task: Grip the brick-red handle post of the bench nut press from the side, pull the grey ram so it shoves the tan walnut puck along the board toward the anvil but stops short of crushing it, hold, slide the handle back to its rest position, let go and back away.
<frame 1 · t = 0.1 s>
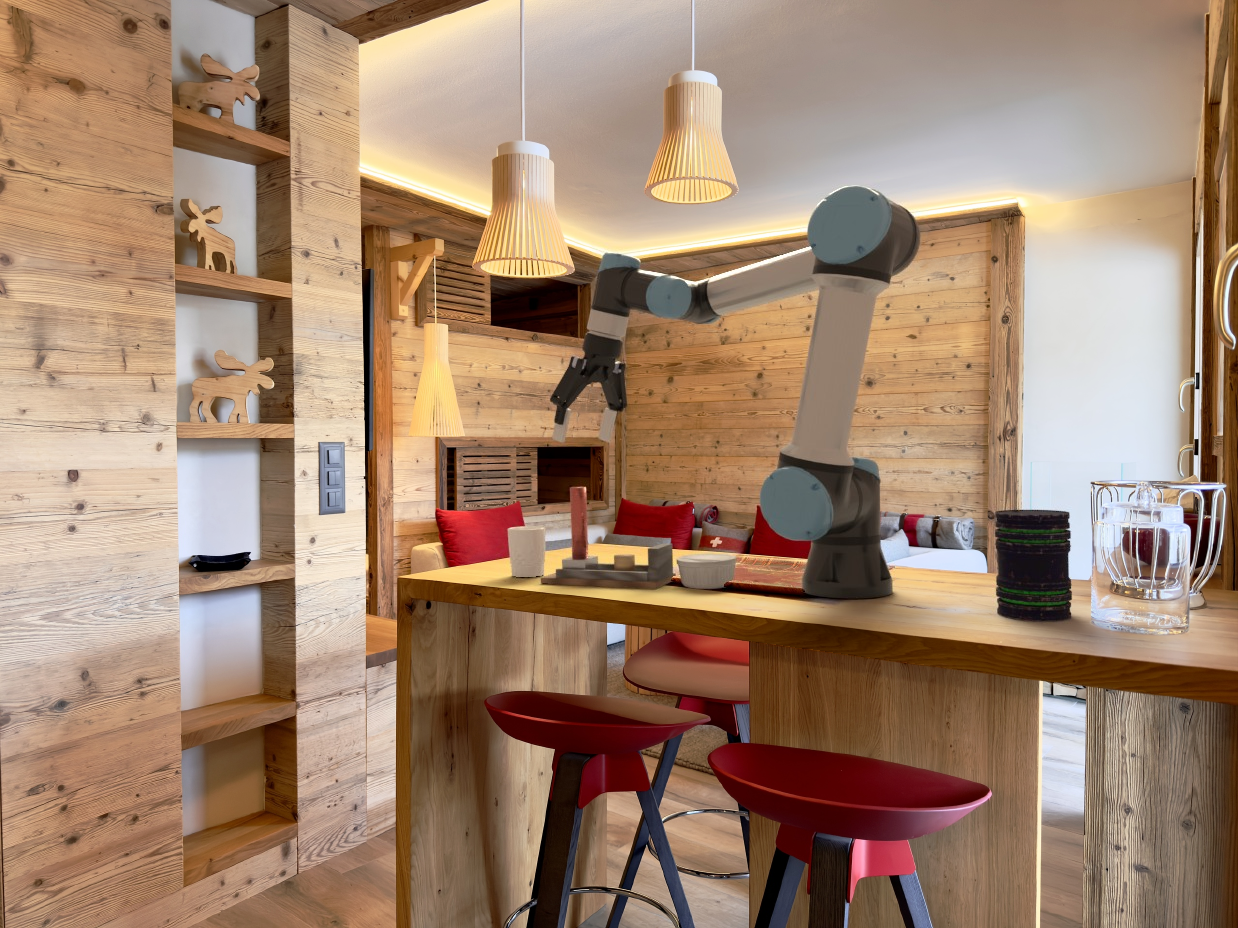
hand: (581, 440, 160), 28 cm above the table, tool tilted 20°, fingers open, 13 cm apart
dark brown cylinder: (1033, 615, 117), on the table
ramekin: (707, 586, 151), on the table
press: (608, 581, 157), on the table
nut: (624, 576, 156), point 1 cm above the table, touching press
ram: (579, 530, 159), point 10 cm above the table, slide at 0.0 cm
white cup: (528, 576, 168), on the table
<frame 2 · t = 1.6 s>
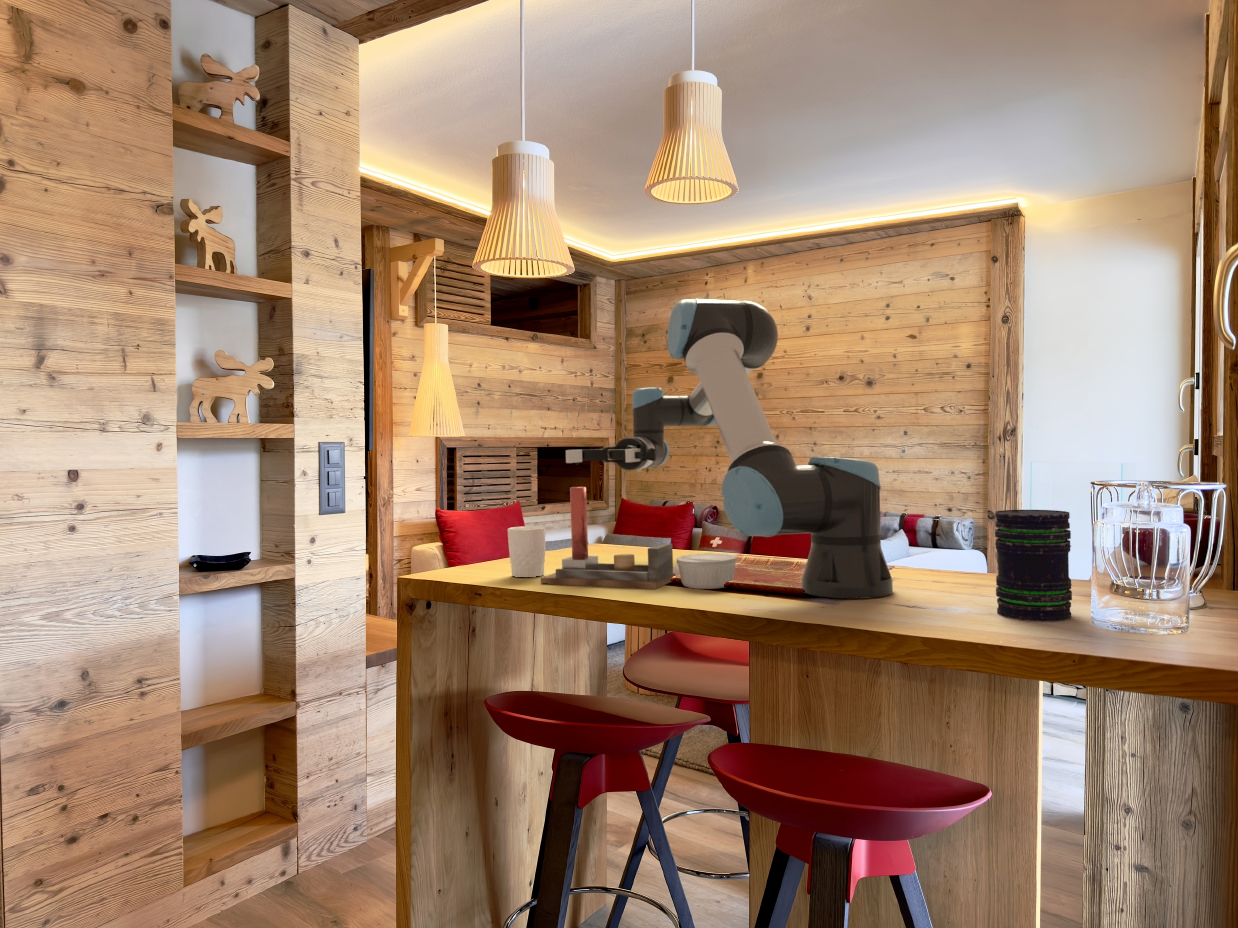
hand: (596, 456, 167), 24 cm above the table, tool horizontal, fingers open, 13 cm apart
nothing on the table moved.
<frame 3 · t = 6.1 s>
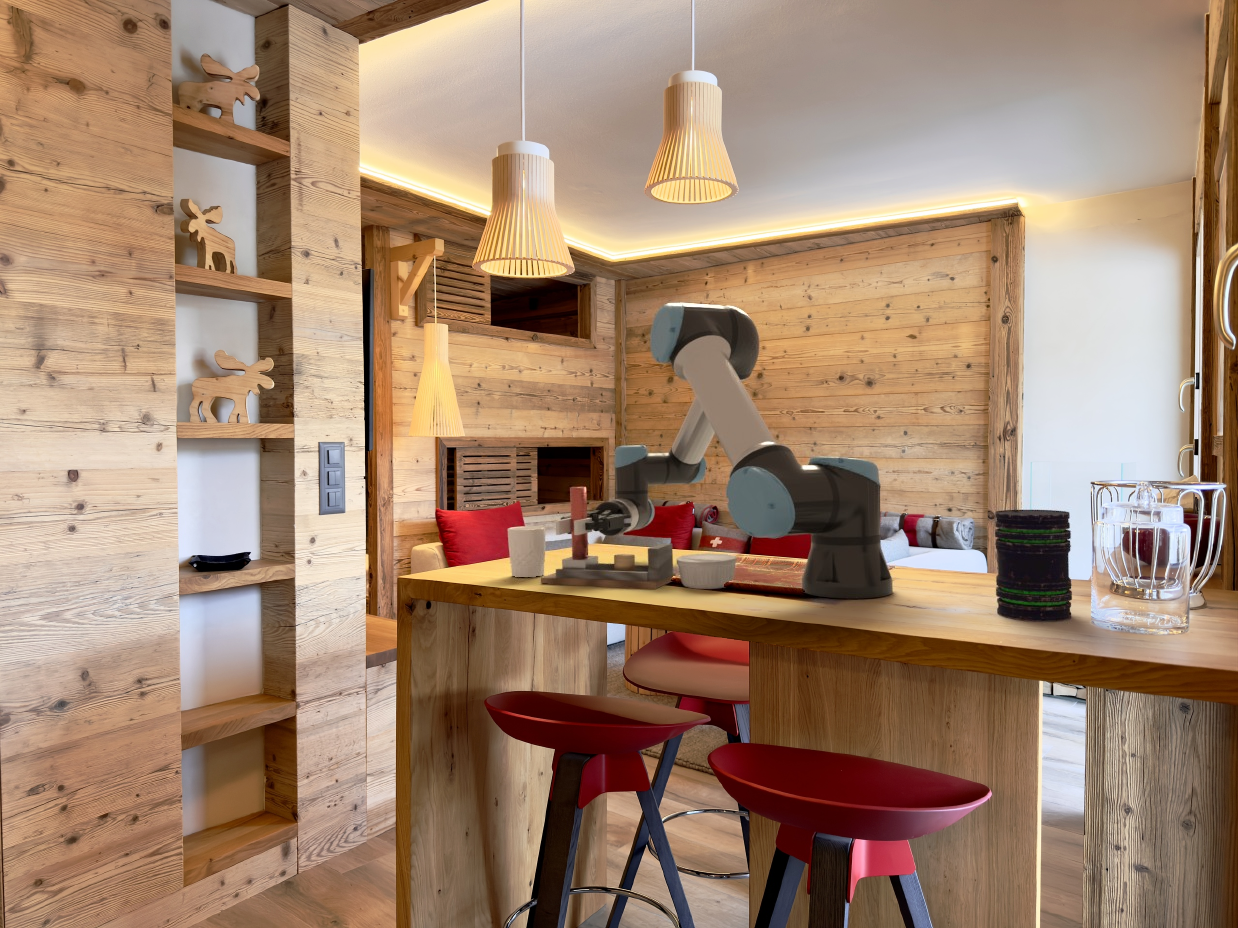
hand: (566, 527, 154), 11 cm above the table, tool horizontal, fingers closed on ram, 3 cm apart
ram: (579, 530, 159), point 10 cm above the table, slide at 0.0 cm, touching gripper
everything else where it was.
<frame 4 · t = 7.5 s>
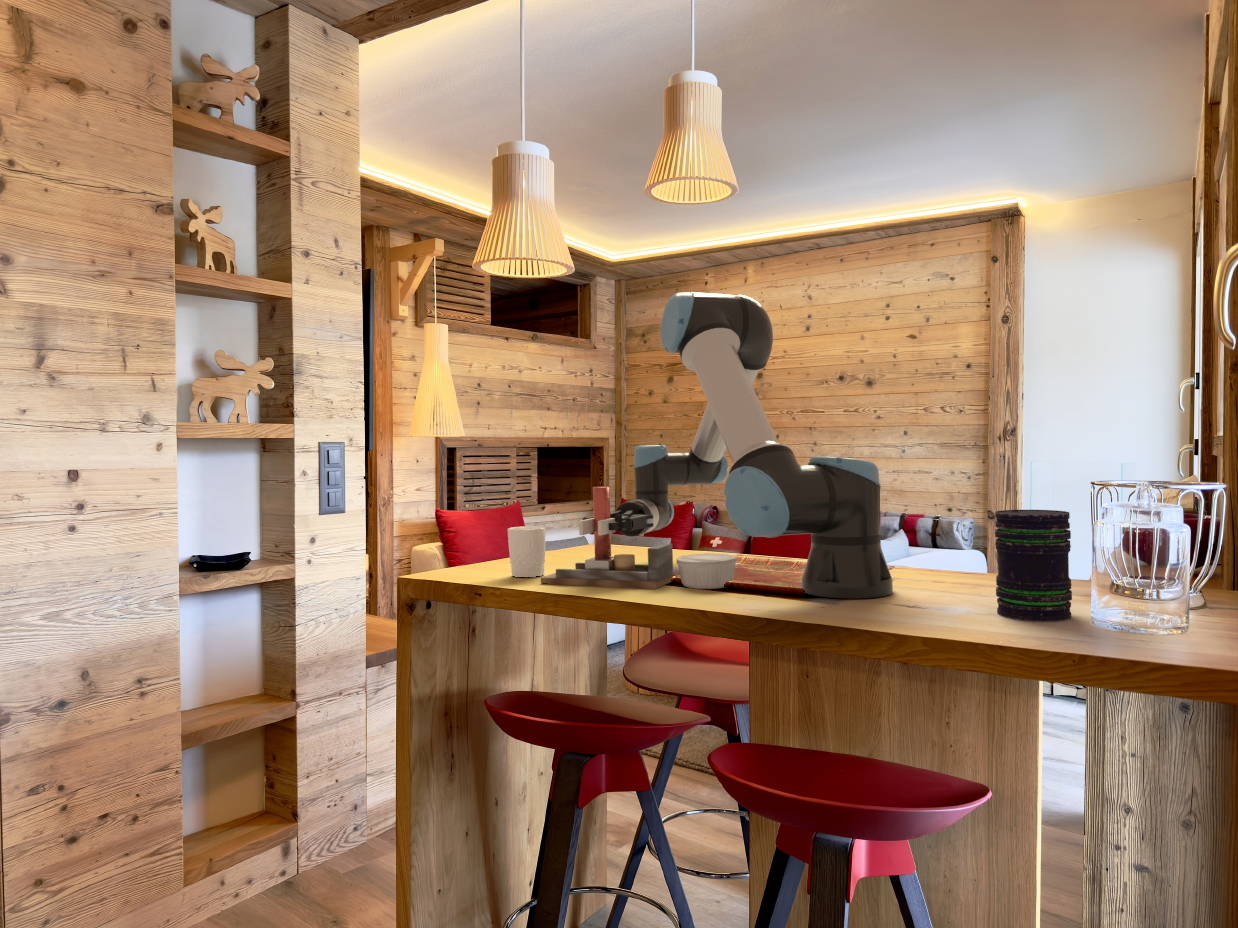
hand: (590, 528, 152), 11 cm above the table, tool horizontal, fingers closed on ram, 3 cm apart
nut: (624, 575, 156), point 1 cm above the table, touching press, ram
ram: (602, 530, 157), point 10 cm above the table, slide at 5.0 cm, touching gripper, nut
everything else where it was.
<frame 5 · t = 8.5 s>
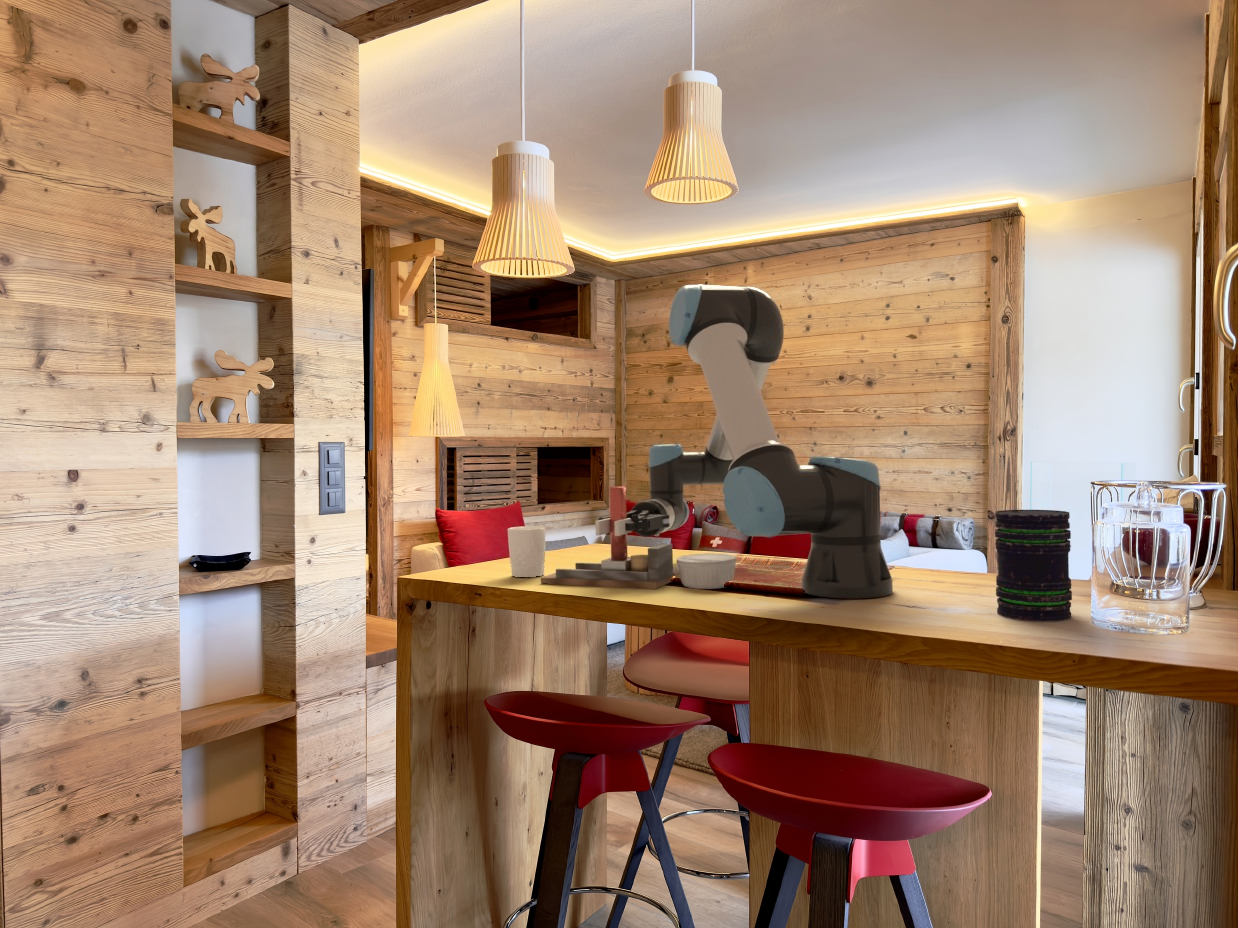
hand: (607, 528, 151), 11 cm above the table, tool horizontal, fingers closed on ram, 3 cm apart
nut: (641, 576, 154), point 1 cm above the table, touching press
ram: (618, 530, 156), point 10 cm above the table, slide at 8.5 cm, touching gripper
everything else where it was.
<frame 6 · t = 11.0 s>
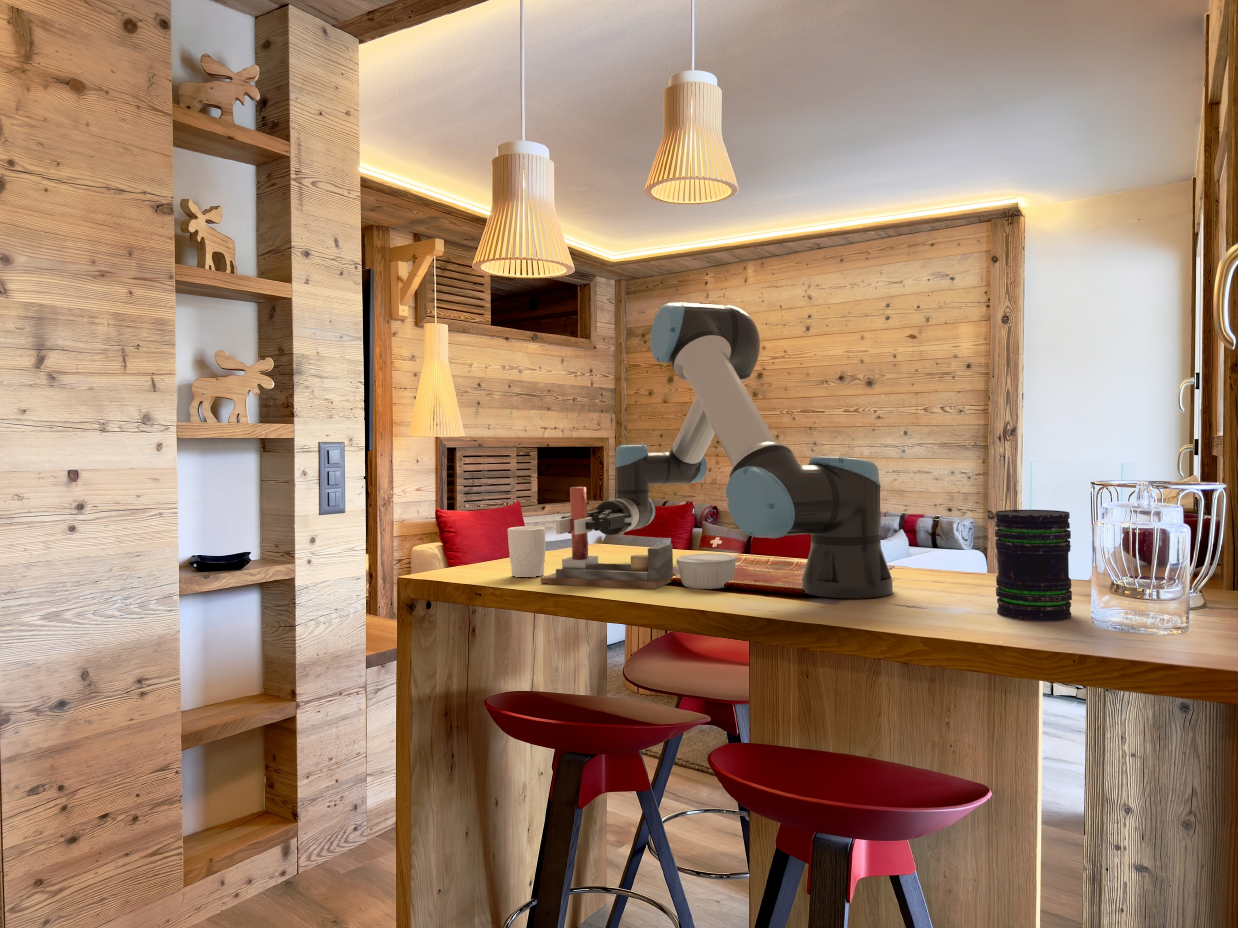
hand: (567, 527, 155), 11 cm above the table, tool horizontal, fingers closed on ram, 3 cm apart
ram: (579, 530, 159), point 10 cm above the table, slide at 0.0 cm, touching gripper
everything else where it was.
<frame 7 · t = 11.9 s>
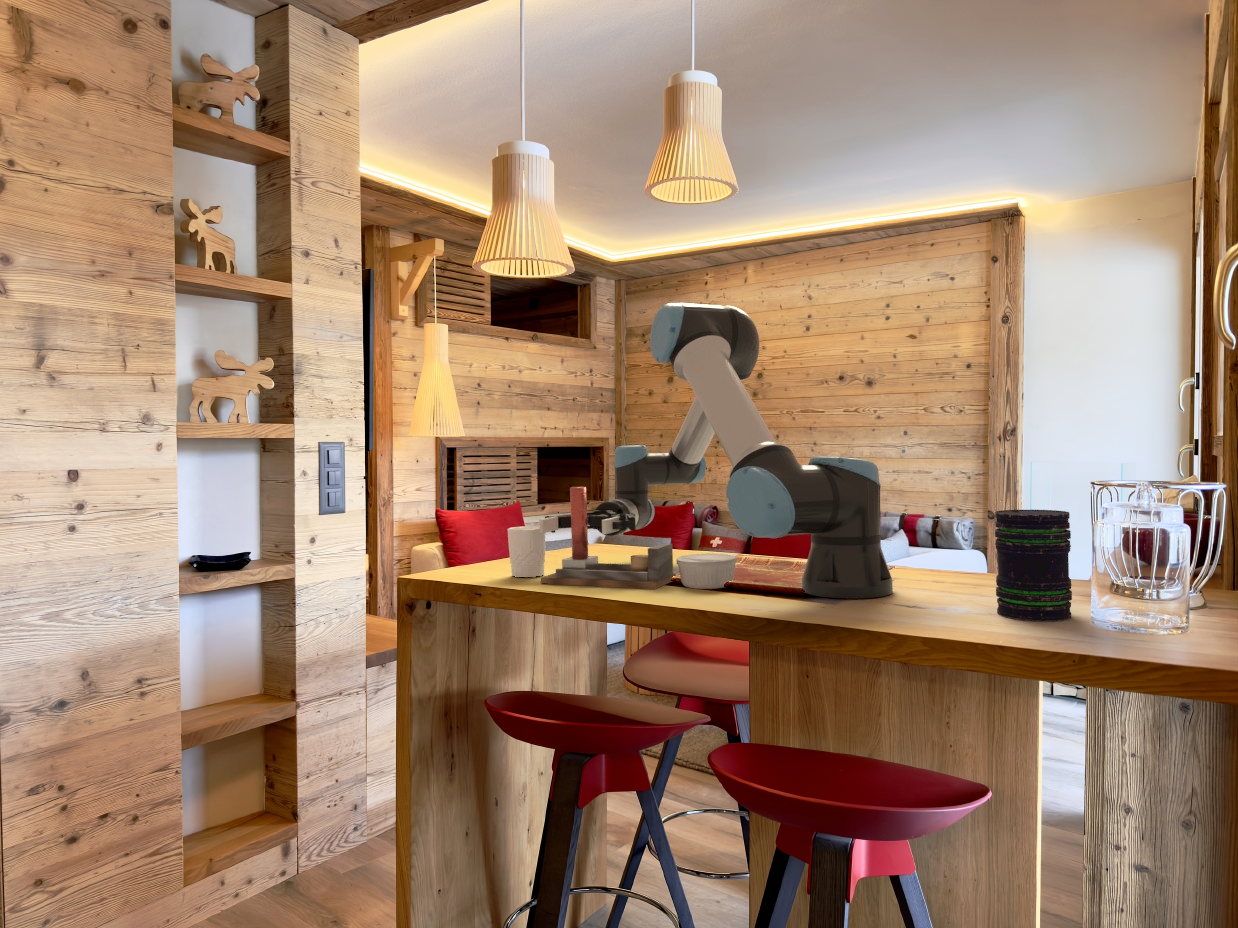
hand: (571, 526, 156), 11 cm above the table, tool horizontal, fingers open, 13 cm apart
ram: (579, 530, 159), point 10 cm above the table, slide at 0.0 cm
everything else where it was.
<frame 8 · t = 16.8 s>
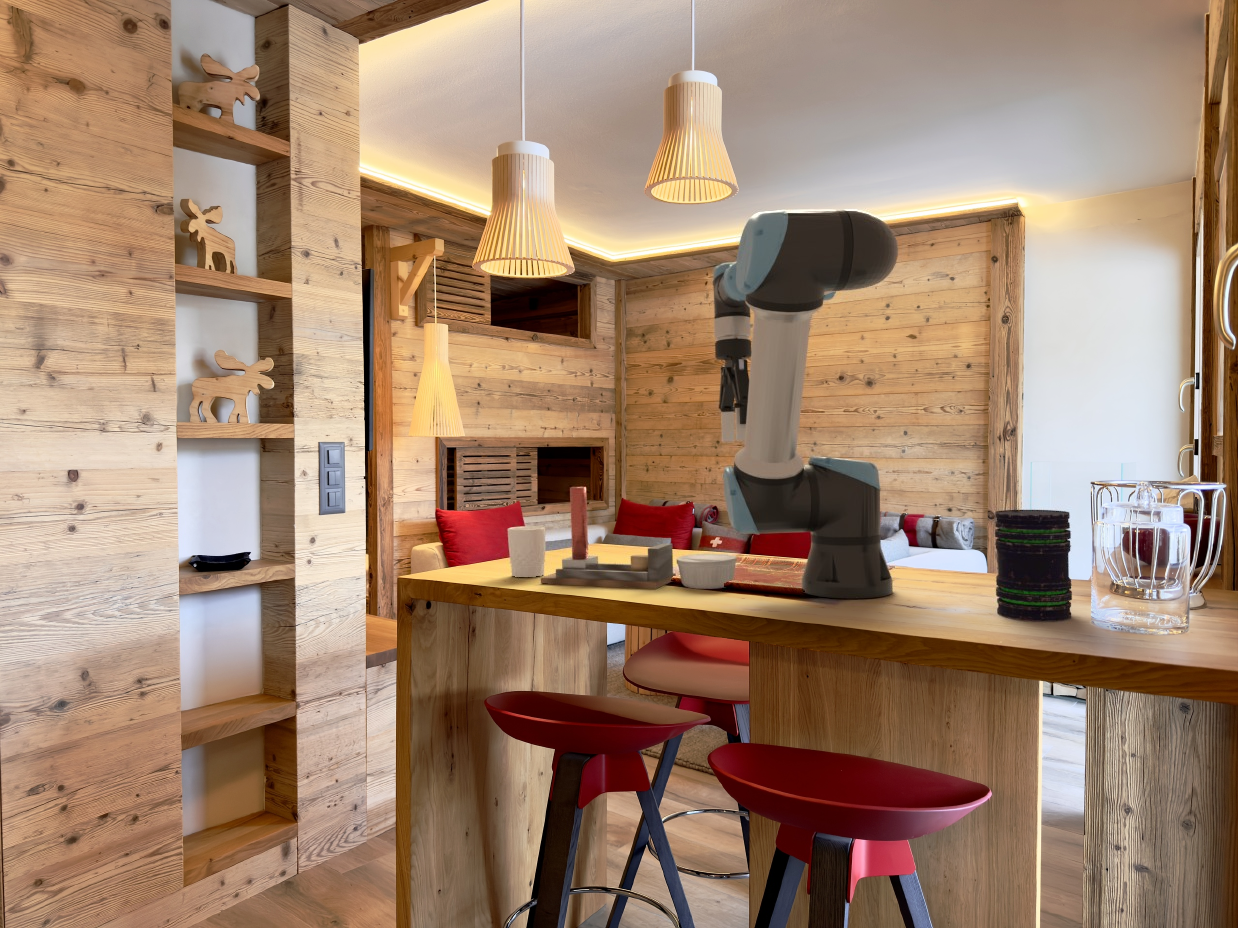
hand: (735, 441, 168), 27 cm above the table, tool pointing down, fingers open, 13 cm apart
nothing on the table moved.
at the end: ram slide at 0.0 cm; nut moved 3.5 cm from its start; nut 0.7 cm from the target spot on the press, point 1.2 cm above the press's base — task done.
